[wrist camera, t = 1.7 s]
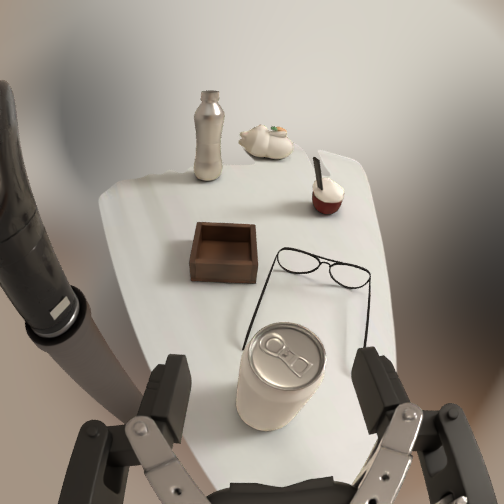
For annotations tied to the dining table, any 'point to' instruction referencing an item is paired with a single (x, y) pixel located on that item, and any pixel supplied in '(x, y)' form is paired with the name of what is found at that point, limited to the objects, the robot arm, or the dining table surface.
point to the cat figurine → (267, 142)
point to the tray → (224, 253)
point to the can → (278, 375)
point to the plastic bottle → (208, 136)
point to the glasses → (310, 272)
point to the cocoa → (326, 192)
